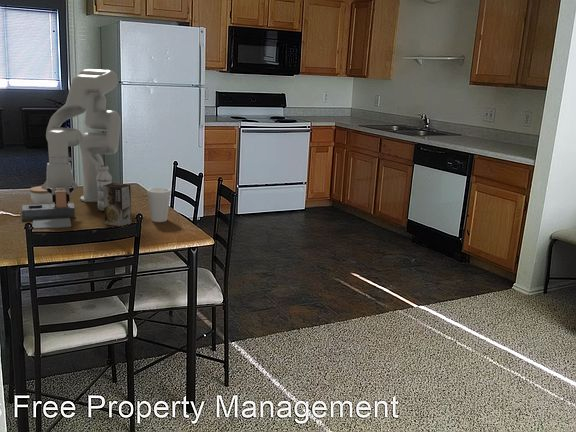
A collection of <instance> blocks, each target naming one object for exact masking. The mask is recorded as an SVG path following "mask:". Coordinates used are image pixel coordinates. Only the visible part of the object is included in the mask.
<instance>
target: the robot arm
mask: <svg viewBox="0 0 576 432" xmlns="http://www.w3.org/2000/svg"><path fill="white" fill-rule="evenodd" d="M117 85H118V75H117V73H116V72H115V71H113V70H110V69H96V68H95V69H94V68H87V69H82V70H81V71H79V73H78V74H77V75H76V76H74V77H73V79H72V81H71V84H70V87H69V91H68V95H67V97H66V101H65V104H63V105H62V106H61V107H59V108H58V109H57V110H56V111H55V112H54V113H53V114H52V115H51V117H50V118H49V122H48V125H47V127H46V131H45V132H46V133H45V138H46V141H47V148H48V162H47V163H46V180H45V182H44V183H43V184H42V185H43V186H42V185H41V186H42V188H43V189H45V190H47V191H48V192H49V193H51V194H52V199H53V203H54V204H56V194H55V188H56V189H60V188H61V189H64V188H65V191H66V203H67V204H68V203H69V202H71V201H70V198H71V197H70V194H71V193H72V192H73V191H74V190H76V189H78V187H79V185H78V184H77V182H76V181H75V180H74V175H73V168H72V163H71V161H73V157H70V156H69V147H77V146H78V145H79V149H80V154H81V163H82V165H81V167H82V184H83V185H82V187H83V189H82V190H83V191H82V192H83V195H81V196H80V198H79V200H80V201H82V202H86V203H98V185H97V180H96V178H97V175H98V173H99V172H100V170H99V166H101V165H105V164H104V160H103V157H102V155H114V154H116V153H117V152H118V150H119V143H120V135H121V123H122V121H121V116H120V114H119V113H118V111H115V110H111V109H106V108H107V98H106V96H105V95H106V94H108V93H110V92H112V91H113V90H115V88H116V87H117ZM84 113H85V118H84V125H85V127H86V128H87V129H89V130H93V131H104V132H91V131H89V132H84V133H82V132H81V131H80V130H79V129H77V128H73V127H61V126H62V125H63V123H65V122H66V121H68V120H69V119H72V118H74V117H77V116H80V115H82V114H84ZM105 131H106V133H105ZM47 186H48V187H49V188H48V187H47ZM50 188H52V190H51V189H50Z"/></svg>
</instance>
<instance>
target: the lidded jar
mask: <svg viewBox="0 0 576 432" xmlns="http://www.w3.org/2000/svg"><path fill="white" fill-rule="evenodd" d="M43 185H44V184H41V185H39V186H33V187H30V188H29V193H30V198H31V202H32V203H34V204H33V205H37V204H54V202H53V199H52V194H51V193H49V192H48V191H47V190H45V189H43V188H42V186H43ZM47 187H48V186H47ZM48 188H49V187H48ZM50 189H51V190H52V188H50ZM55 191H57V188H55ZM55 194H56V192H55Z"/></svg>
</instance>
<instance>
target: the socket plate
mask: <svg viewBox="0 0 576 432" xmlns="http://www.w3.org/2000/svg"><path fill="white" fill-rule="evenodd" d="M75 209H76V208H75V204H74V202H68V204H67V207H60V208H56V204H55V203H52V204H37V205H36V204H22V207H21V220H22V221H27V220H28V221H29V220H43V219H63V218H70V219H71V218H75V217H76V212H75V211H76V210H75Z"/></svg>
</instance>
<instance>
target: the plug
mask: <svg viewBox="0 0 576 432" xmlns="http://www.w3.org/2000/svg"><path fill="white" fill-rule="evenodd" d="M55 192H56V208H60V207H67V203H66V190H56V191H55Z"/></svg>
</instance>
